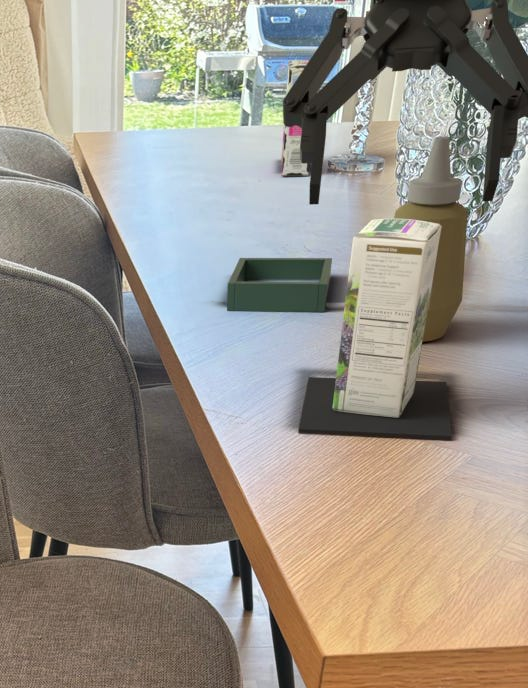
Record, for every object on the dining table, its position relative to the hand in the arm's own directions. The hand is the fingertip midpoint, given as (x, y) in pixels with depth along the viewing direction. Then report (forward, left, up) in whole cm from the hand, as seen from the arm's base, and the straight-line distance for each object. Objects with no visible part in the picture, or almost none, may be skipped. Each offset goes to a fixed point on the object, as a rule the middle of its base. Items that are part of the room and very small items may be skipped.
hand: (400, 193), depth 80 cm
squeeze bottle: (-3, -15, -16) cm, 22 cm away
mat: (0, +5, -16) cm, 17 cm away
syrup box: (0, +5, -16) cm, 17 cm away
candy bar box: (+15, -101, -16) cm, 103 cm away
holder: (+11, -27, -16) cm, 33 cm away
